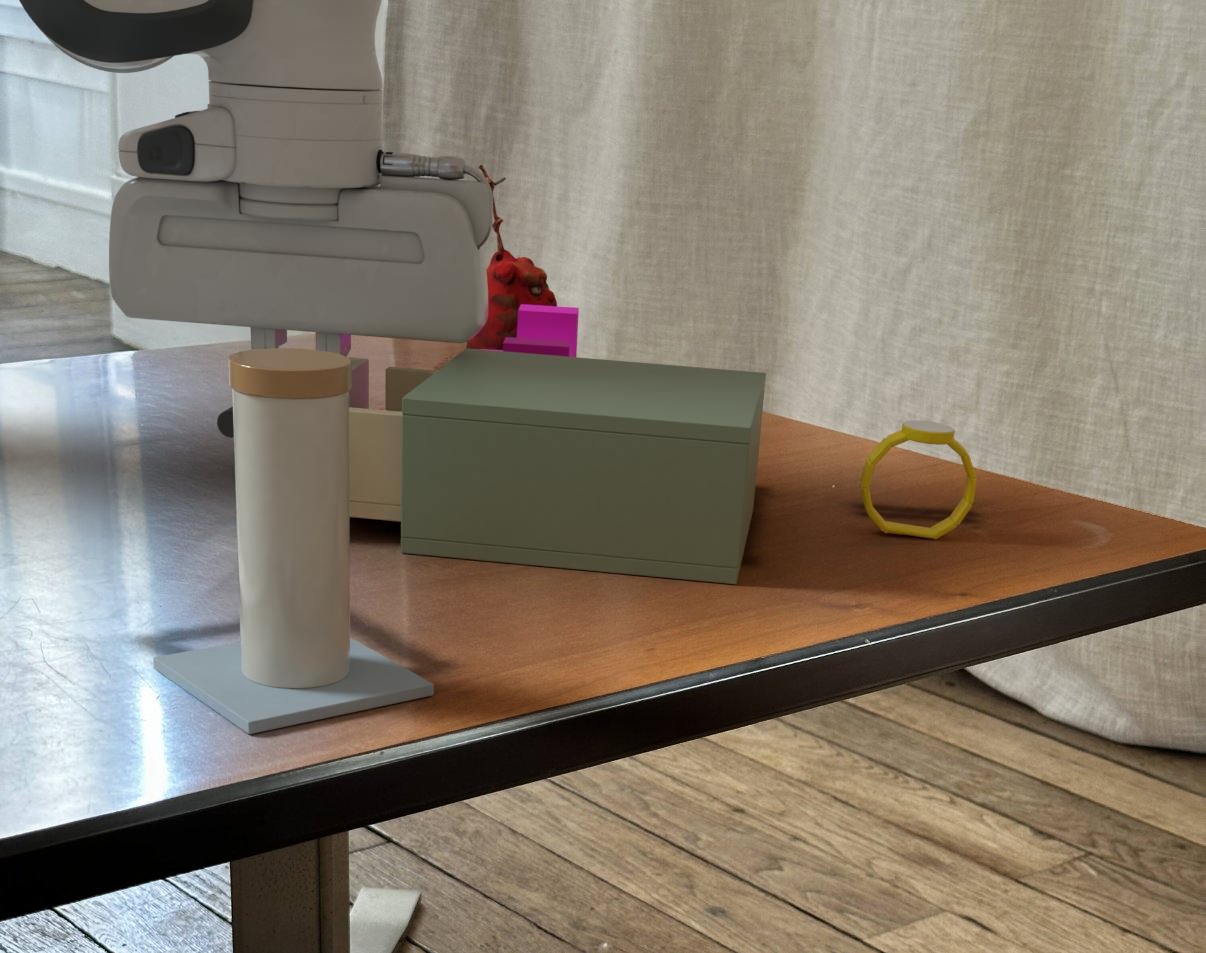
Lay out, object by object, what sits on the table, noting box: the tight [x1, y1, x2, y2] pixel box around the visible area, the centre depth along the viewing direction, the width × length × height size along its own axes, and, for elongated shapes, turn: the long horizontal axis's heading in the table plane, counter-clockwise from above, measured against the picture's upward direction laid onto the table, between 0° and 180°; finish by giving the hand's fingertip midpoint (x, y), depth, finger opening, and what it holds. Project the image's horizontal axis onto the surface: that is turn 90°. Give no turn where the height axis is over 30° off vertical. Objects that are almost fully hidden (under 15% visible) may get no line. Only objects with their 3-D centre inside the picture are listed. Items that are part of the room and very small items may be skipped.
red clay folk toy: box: [465, 164, 558, 350], centre depth 121 cm, size 8×7×15 cm
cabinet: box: [400, 347, 767, 585], centre depth 88 cm, size 17×15×8 cm
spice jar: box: [228, 347, 352, 689], centre depth 64 cm, size 4×4×12 cm
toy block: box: [481, 304, 580, 357], centre depth 105 cm, size 15×6×8 cm, turn 179°
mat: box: [153, 636, 435, 735], centre depth 67 cm, size 8×8×1 cm
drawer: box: [216, 356, 437, 523], centre depth 89 cm, size 20×13×6 cm
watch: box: [859, 419, 978, 540], centre depth 91 cm, size 6×3×6 cm, turn 87°
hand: (302, 412), depth 95 cm, fingers closed
